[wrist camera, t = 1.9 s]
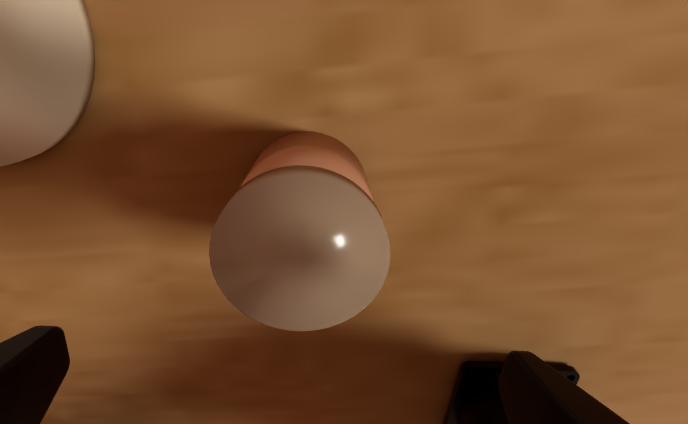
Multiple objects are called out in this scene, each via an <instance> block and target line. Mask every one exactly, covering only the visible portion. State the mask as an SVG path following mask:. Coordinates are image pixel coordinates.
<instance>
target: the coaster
mask: <svg viewBox="0 0 688 424" xmlns="http://www.w3.org/2000/svg"><path fill="white" fill-rule="evenodd" d="M94 69H95V53H94V40H93V35H92V30H91V25H90V20H89V17H88V14H87V10H86V7H85V4H84V1H83V0H0V166H5V165H9V164H13V163H18V162H20V161H23V160H25V159H28V158H31V157H33V156H36V155H38V154H40V153H43V152H45V151H46V150H48V149H50V148H51V147H53V146H55V145H56V144H57V143H59V142H60V141H61V140H62V139H63V138H64V137H66V136H67V135H68V134H69V133H70V131H71V130H72V129H73V128H74V126H75V125H76V124H77V123H78V121H79V119H80V117H81V116H82V114H83V112H84V110H85V108H86V105H87V103H88V100H89V97H90V95H91V90H92V85H93V80H94Z"/></svg>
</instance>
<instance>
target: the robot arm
mask: <svg viewBox="0 0 688 424" xmlns="http://www.w3.org/2000/svg"><path fill="white" fill-rule="evenodd" d="M69 364H70V357H69V353H68V348H67V344H66V339H65V335H64V331H63V330H62V329H61V328H60V327H57V326H35V327H32V328H30V329H28V330H26V331H24V332H22V333H20V334H18V335H16V336H14V337H12V338H10V339H8V340H6V341H3V342H1V343H0V424H40V423H41V421H42V419H43V417H44V416H45V414H46V412H47V410H48V408H49V406H50V404H51V402H52V400H53V398H54V396H55V394H56V393H57V391H58V389H59V387H60V385H61V383H62V381H63V379H64V377H65V375H66V373H67V371H68V368H69ZM469 371H470V372H469ZM579 377H580V376H579V374H578V372H577V371H576V370H575V368H574V367H572V366H563V365H548V364H547V363H545V362H544V361H543V360H541V359H540V358H539V357H537V356H536V355H534V354H533V353H531V352H528V351H511V352H510V353H509V354H508V356H507V358H506V361H505V363H500V362H480V361H467V362H465V363H463V364H462V365H461V367H460V369H459V373H458V376H457V379H456V383H455V386H454V389H453V393H452V396H451V399H450V403H449V406H448V410H447V413H446V416H445V420H444V423H443V424H629V423H628V422H627V421H625V420H624V419H622V418H621V417H620V416H618V415H617V414H616V413H614V412H613V411H611V410H610V409H609V408H607V407H606V406H605V405H603V404H602V403H600V402H599V401H598V400H596V399H595V398H594V397H592V396H591V395H589V394H588V393H587V392H585V391H584V390H583V389H581V388H580V387H578V386H577V385H576V384H577V382H578V380H579Z"/></svg>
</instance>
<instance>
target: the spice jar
mask: <svg viewBox="0 0 688 424" xmlns="http://www.w3.org/2000/svg"><path fill="white" fill-rule="evenodd" d="M209 256H210V264H211V268H212V272H213V275H214V277H215V280H216V282H217V284H218V286H219V288H220V289H221V291H222V293H223V294H224V295H225V296H226V298H227V299H228V300H229V301H230V302H231V303H232V304H233V305H234V306H235V307H236V308H237V309H239V310H240V311H241V312H242V313H244V314H245V315H247V316H248V317H250V318H252V319H254V320H256V321H258V322H260V323H262V324H265V325H268V326H271V327H274V328H278V329H283V330H290V331H313V330H320V329H324V328H329V327H332V326H335V325H338V324H340V323H342V322H345V321H347V320H349V319H350V318H352V317H354V316H355V315H357V314H358V313H359V312H361V311H362V310H363V309H365V308H366V307H367V306H368V305H369V304H370V303H371V302H372V301H373V299H374V298H375V297H376V295H377V294H378V293H379V291H380V289H381V288H382V286H383V284H384V281H385V279H386V277H387V273H388V269H389V265H390V244H389V239H388V234H387V231H386V228H385V225H384V222H383V220H382V217H381V214H380V212H379V210H378V208H377V207H376V205H375V203H374V201H373V198H372V195H371V192H370V189H369V186H368V182H367V179H366V176H365V173H364V170H363V167H362V165H361V163H360V161H359V160H358V158H357V157H356V155H355V154H354V153H353V152H352V151H351V150H350V149H349V148H348V147H347V146H346V145H345V144H343V143H342V142H340V141H339V140H337V139H335V138H333V137H331V136H328V135H325V134H322V133H316V132H296V133H292V134H288V135H285V136H283V137H280V138H279V139H277V140H275V141H273V142H272V143H271V144H269V145H268V146H267V147H266V148H265V149H264V150H263V151H262V152H261V153H260V154H259V156H258V157H257V159H256V161H255V162H254V164H253V166H252V167H251V169H250V171H249V173H248V174H247V176H246V178H245V180H244V181H243V183H242V185H241V187H240V188H239V189H238V190H237V191H236V192H235V193H234V194H233V195H232V197H231V198H230V199H229V201H228V202H227V204H226V205H225V207H224V209H223V210H222V212H221V214H220V215H219V217H218V219H217V221H216V223H215V225H214V228H213V231H212V234H211V239H210V248H209Z"/></svg>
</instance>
